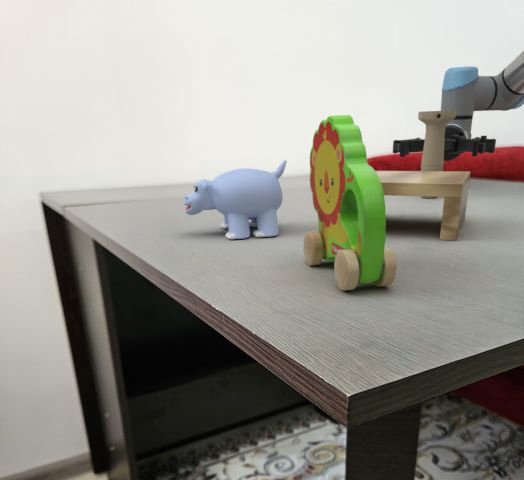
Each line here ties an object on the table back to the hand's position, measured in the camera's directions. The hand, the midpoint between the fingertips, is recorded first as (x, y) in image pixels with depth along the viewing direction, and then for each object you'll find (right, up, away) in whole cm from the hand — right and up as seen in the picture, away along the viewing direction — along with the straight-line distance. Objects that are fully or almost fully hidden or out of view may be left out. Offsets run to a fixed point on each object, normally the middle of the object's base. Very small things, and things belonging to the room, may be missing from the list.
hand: (437, 149), depth 101 cm
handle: (-2, -10, -2) cm, 11 cm away
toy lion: (-26, -31, -46) cm, 61 cm away
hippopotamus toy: (-38, -22, -25) cm, 50 cm away
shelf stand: (-14, -21, -26) cm, 36 cm away
